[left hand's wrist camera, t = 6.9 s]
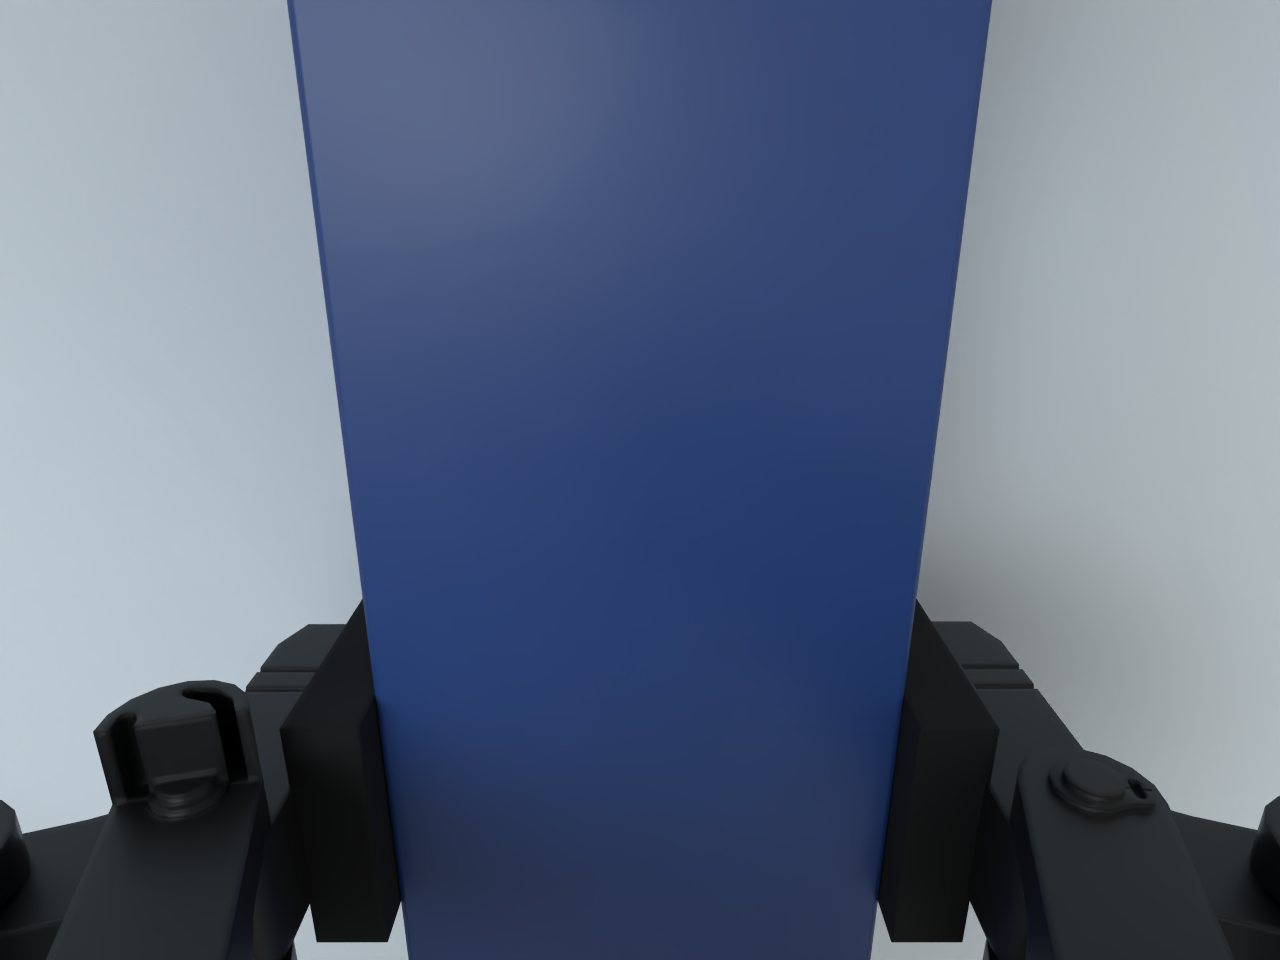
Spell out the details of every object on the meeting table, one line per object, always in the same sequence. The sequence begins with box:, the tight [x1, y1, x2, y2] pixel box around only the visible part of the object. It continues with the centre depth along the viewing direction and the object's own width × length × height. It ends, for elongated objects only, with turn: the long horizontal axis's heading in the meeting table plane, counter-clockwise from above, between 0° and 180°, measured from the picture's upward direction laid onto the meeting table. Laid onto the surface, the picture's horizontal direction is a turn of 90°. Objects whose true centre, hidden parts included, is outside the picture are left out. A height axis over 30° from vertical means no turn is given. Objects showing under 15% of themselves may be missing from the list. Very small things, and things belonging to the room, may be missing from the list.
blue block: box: [287, 0, 992, 960], centre depth 12 cm, size 17×5×8 cm, turn 0°
